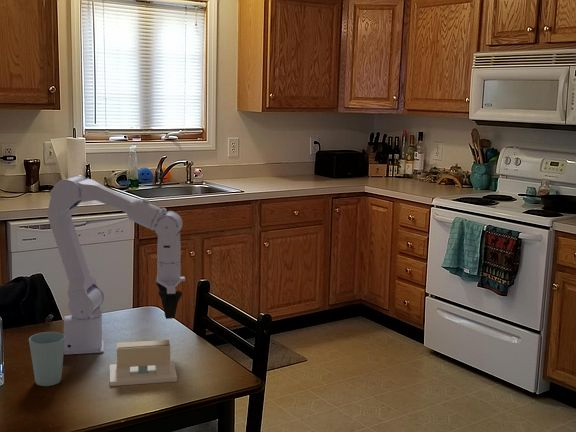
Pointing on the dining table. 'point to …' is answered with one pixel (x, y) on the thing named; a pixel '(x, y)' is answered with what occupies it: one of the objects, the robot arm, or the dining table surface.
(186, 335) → the dining table surface
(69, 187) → the robot arm
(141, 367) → the display stand
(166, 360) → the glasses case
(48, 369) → the cup
